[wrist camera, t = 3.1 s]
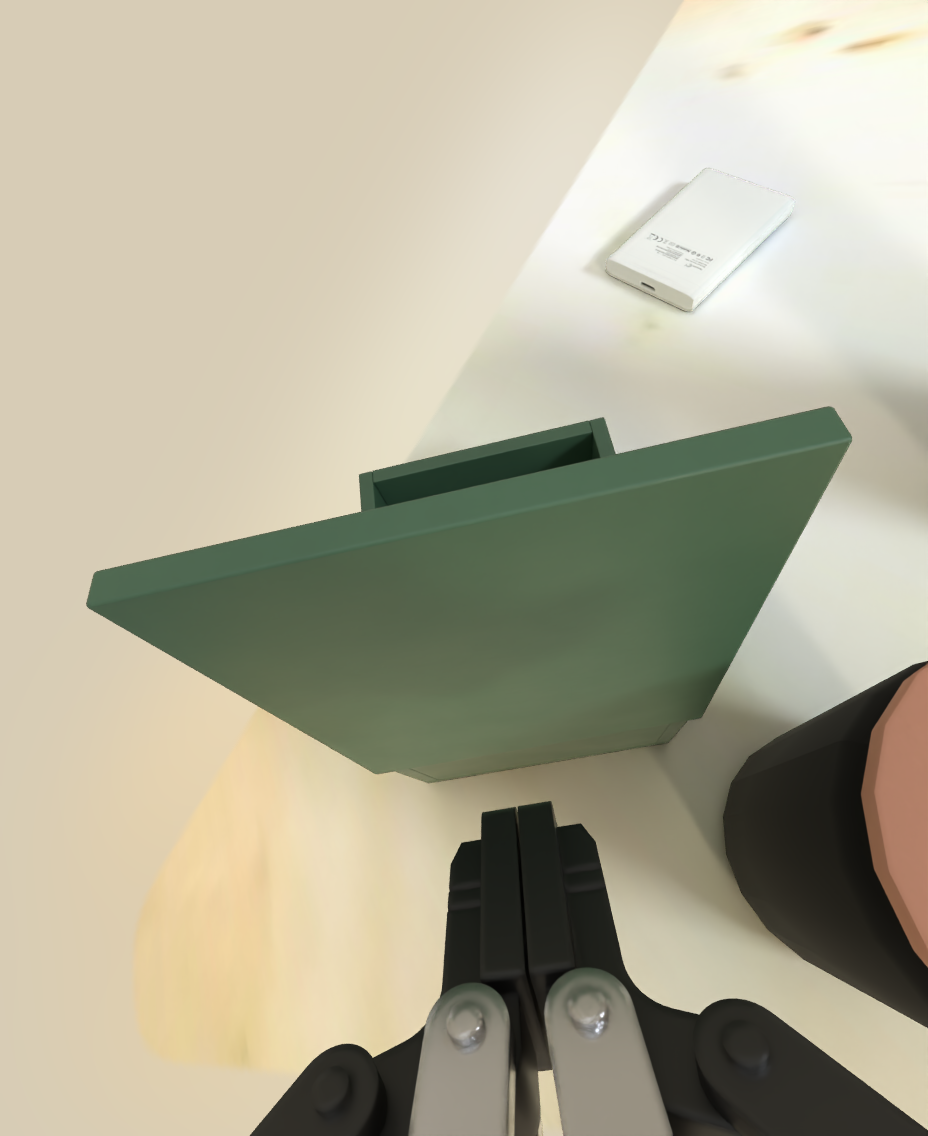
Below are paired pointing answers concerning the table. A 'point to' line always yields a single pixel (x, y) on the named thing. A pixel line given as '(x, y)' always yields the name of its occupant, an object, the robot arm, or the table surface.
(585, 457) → the green box
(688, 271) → the hard drive
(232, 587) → the green lid
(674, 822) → the table surface
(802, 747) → the coffee jar
